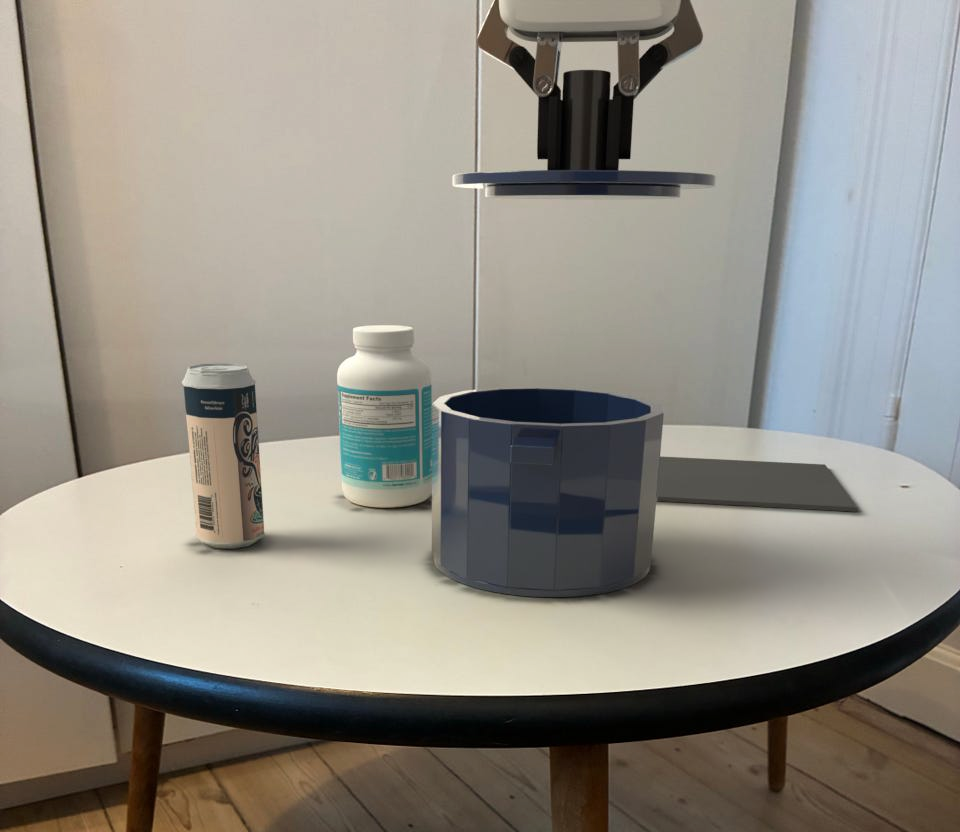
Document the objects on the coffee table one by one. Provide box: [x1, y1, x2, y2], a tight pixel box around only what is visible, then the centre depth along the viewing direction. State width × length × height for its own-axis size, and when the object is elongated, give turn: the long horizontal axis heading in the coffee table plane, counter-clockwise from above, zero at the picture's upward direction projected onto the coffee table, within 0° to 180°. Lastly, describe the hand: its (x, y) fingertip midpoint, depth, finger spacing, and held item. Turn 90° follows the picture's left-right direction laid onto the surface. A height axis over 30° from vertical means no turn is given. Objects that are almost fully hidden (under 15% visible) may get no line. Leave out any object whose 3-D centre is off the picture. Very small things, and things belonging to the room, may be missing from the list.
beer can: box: [181, 362, 266, 550], centre depth 70 cm, size 5×5×12 cm
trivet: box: [656, 455, 858, 513], centre depth 91 cm, size 16×16×1 cm
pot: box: [431, 386, 665, 598], centre depth 67 cm, size 15×20×10 cm
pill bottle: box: [336, 324, 433, 509], centre depth 82 cm, size 8×7×14 cm
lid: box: [452, 69, 717, 201], centre depth 61 cm, size 16×16×7 cm
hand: (583, 170), depth 62 cm, fingers closed on lid, 2 cm apart
